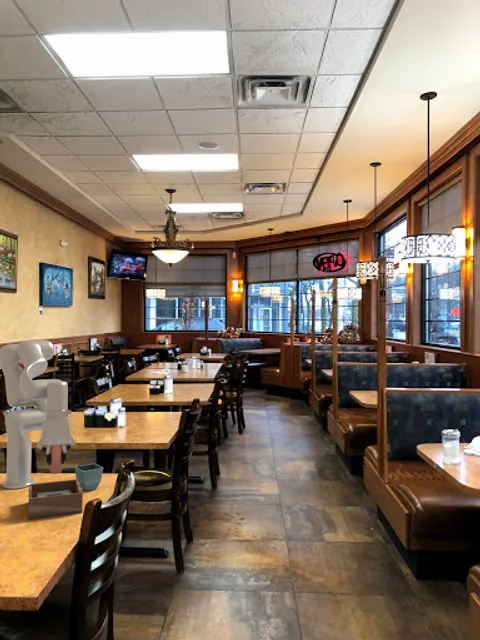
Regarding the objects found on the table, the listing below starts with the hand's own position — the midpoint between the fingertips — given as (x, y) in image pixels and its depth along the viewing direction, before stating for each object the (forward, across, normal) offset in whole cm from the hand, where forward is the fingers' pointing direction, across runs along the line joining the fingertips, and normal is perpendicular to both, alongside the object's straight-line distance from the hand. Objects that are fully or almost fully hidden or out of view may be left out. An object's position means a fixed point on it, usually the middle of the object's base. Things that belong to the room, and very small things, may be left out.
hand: (56, 463), depth 182 cm
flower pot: (+16, -14, -19) cm, 28 cm away
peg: (+3, 0, 0) cm, 3 cm away
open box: (+16, 0, -1) cm, 16 cm away
